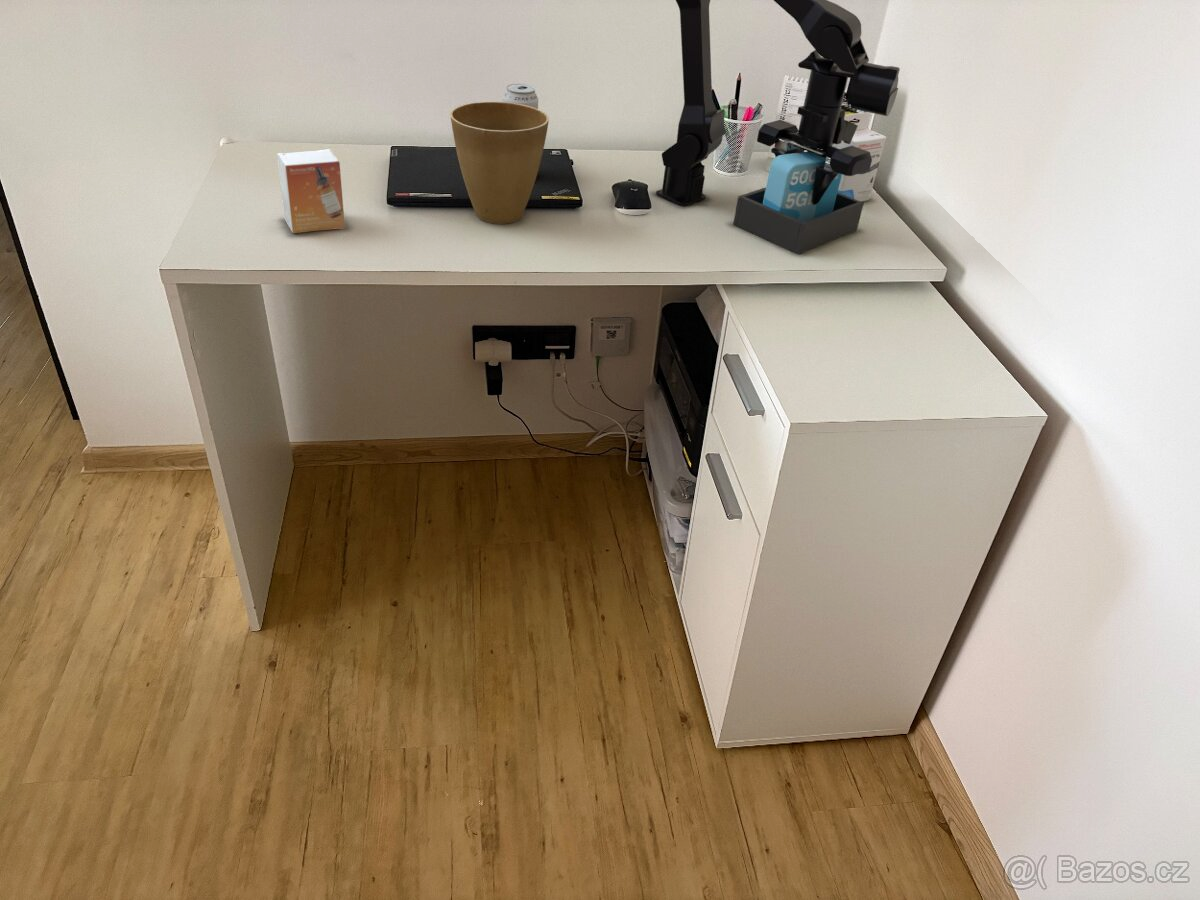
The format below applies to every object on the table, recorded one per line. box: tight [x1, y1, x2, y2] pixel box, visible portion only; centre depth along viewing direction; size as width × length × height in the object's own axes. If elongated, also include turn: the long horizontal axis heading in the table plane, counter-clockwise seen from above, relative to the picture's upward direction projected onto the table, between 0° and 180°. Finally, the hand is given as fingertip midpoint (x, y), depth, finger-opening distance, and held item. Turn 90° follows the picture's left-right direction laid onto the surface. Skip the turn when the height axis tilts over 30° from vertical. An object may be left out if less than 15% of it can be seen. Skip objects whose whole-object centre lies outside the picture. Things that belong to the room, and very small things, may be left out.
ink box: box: [832, 111, 887, 202], centre depth 163 cm, size 8×5×15 cm, turn 123°
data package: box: [763, 151, 842, 222], centre depth 150 cm, size 12×4×12 cm, turn 120°
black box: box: [732, 187, 865, 255], centre depth 153 cm, size 14×17×5 cm
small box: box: [276, 148, 346, 234], centre depth 137 cm, size 8×6×10 cm
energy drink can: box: [502, 83, 539, 110], centre depth 159 cm, size 6×6×15 cm
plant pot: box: [449, 101, 550, 225], centre depth 144 cm, size 15×15×16 cm
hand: (802, 198), depth 151 cm, fingers closed on data package, 5 cm apart
